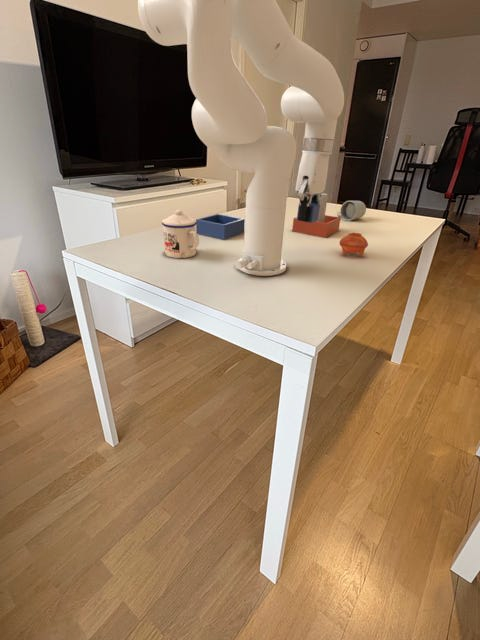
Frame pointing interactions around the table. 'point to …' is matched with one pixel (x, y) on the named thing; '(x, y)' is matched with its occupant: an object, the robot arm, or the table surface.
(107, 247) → the table surface
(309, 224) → the terracotta bin
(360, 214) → the ceramic mug
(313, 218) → the blue block
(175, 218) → the teacup with lid
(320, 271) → the table surface
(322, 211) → the beverage can
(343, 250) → the pot
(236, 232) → the blue bin
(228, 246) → the table surface
